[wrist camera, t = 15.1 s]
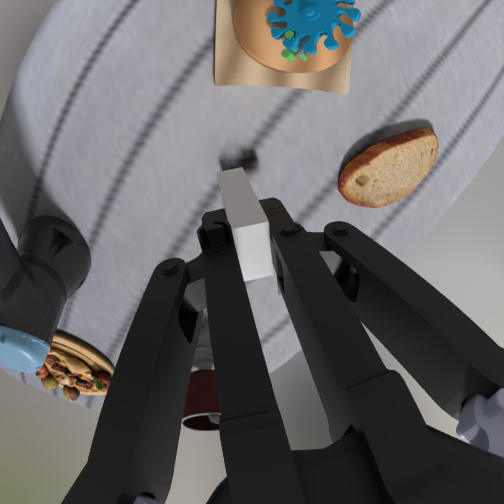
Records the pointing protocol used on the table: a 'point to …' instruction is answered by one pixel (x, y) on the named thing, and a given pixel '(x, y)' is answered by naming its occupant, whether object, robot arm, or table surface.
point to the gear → (311, 25)
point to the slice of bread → (389, 169)
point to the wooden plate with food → (75, 368)
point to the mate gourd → (202, 394)
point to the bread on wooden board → (274, 51)
